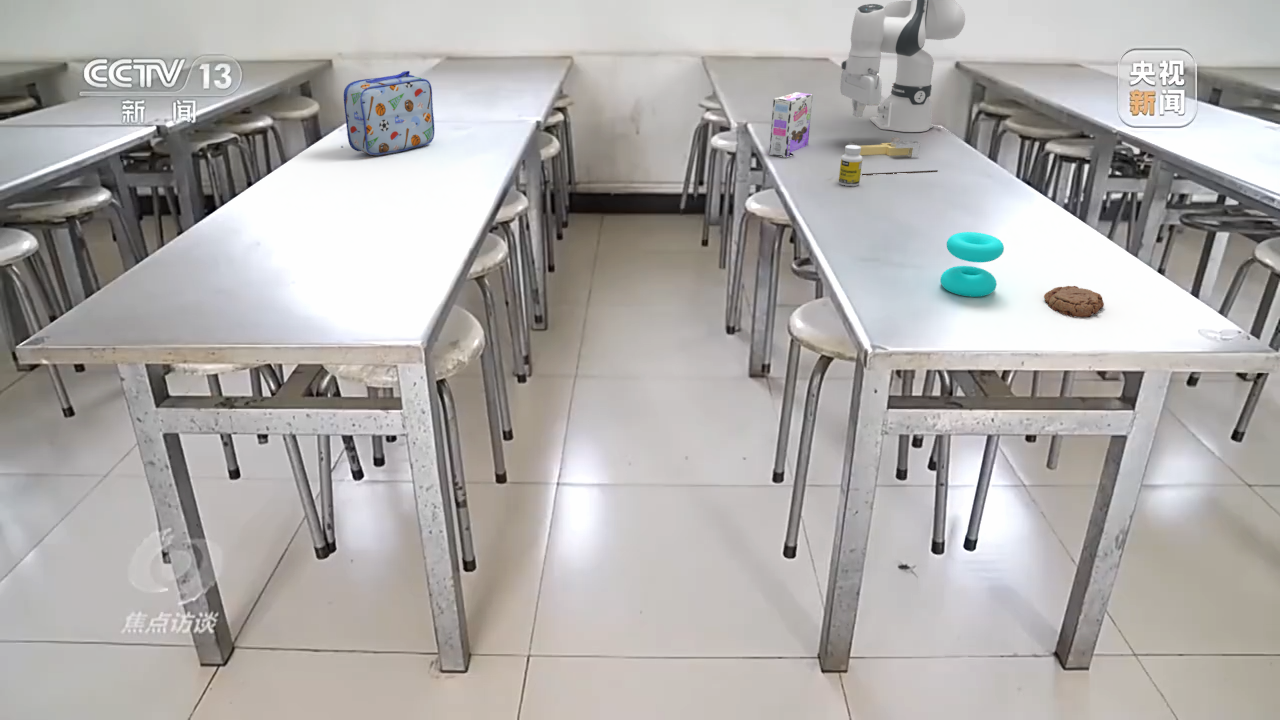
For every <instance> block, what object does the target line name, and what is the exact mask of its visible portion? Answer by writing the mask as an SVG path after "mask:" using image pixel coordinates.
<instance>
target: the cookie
mask: <svg viewBox="0 0 1280 720" xmlns="http://www.w3.org/2000/svg"><path fill="white" fill-rule="evenodd" d="M1043 298H1044V301H1045V303H1047V304H1048V307H1049V308H1051V310H1052V311H1055V312H1058V313H1059V314H1062V315H1064V316H1068V317H1069V316H1070V317H1072V318H1079V317H1080V318H1084V317H1085V318H1088V317H1090V316H1093V315H1096V314H1098V312H1099V310H1100V309H1103V308H1104V307H1105V302H1104V301H1103V296H1102V295H1101V294H1100V293H1097V292H1095V291H1093V290H1091V289H1088V288H1082V287H1078V286H1076V285H1073V286H1072V285H1066V286H1058V287H1054V288H1052V289H1050V290H1049V291H1047V292H1045V293H1044V294H1043Z"/></svg>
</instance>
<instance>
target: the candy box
mask: <svg viewBox="0 0 1280 720" xmlns="http://www.w3.org/2000/svg"><path fill="white" fill-rule="evenodd" d="M812 105H813V94H812V93H807V92H806V93H805V92H798V91H797V92H796V91H795V92H793V93H790V94H786V95H783V96H779V97H774V98H773V103H772V113H771V114H772V115H771V128H770V129H771V130H770V139H769V140H770V141H769V152H768V154H769V156H774V157H778V156H782V157H781V158H783V157H787V156H790V155H792V156H794V153H792V152H795V151H797V150H799V149H803V148H804V147H806V146H809V138H810V130H811V129H810V127H811V116H812V115H811V114H812ZM790 157H791V156H790ZM787 158H788V157H787Z"/></svg>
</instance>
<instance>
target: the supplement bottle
mask: <svg viewBox="0 0 1280 720" xmlns="http://www.w3.org/2000/svg"><path fill="white" fill-rule="evenodd" d="M860 146H861V145H857V144H856V145H848V144H847V145H845V148H844V154H842V155H841V158H840V159H841V160H840V166H839V172H838V173H839V175H838V184H839V185H841V186H844V185H845V186H846V187H857V186H859V185H860V182H861V181H860V180H861V176H862V175H861V174H862V173H861V172H862V166H863V165H862V164H863V155H859V153H860V152H861V147H860ZM845 152H846V153H845ZM845 186H844V187H845Z"/></svg>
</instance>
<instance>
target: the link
mask: <svg viewBox="0 0 1280 720" xmlns="http://www.w3.org/2000/svg"><path fill="white" fill-rule="evenodd" d="M847 145H857V142H848V143H847ZM890 145H891V142H882V143H881V142H880V144H871V145H870V144H869V145H868V144H867V145H859V146H860V147H861V152H860V153H859V155H861V156H874V155H875V156H876V155H877V156H878V155H887V156H889V157H890V156H893V157H894V156H908V154H909V148H894V147H891V146H890ZM845 153H846V152H845V151H844V154H845Z"/></svg>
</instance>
